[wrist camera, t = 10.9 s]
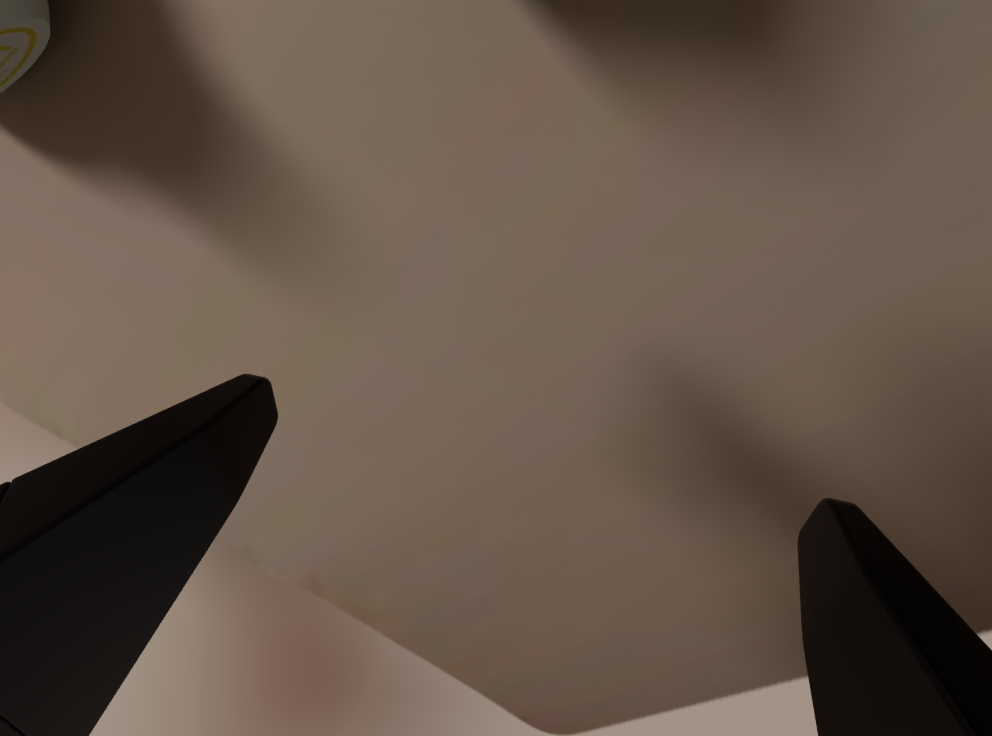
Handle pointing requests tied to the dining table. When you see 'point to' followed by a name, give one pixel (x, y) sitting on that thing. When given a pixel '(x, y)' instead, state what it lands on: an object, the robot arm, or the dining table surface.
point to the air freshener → (21, 37)
